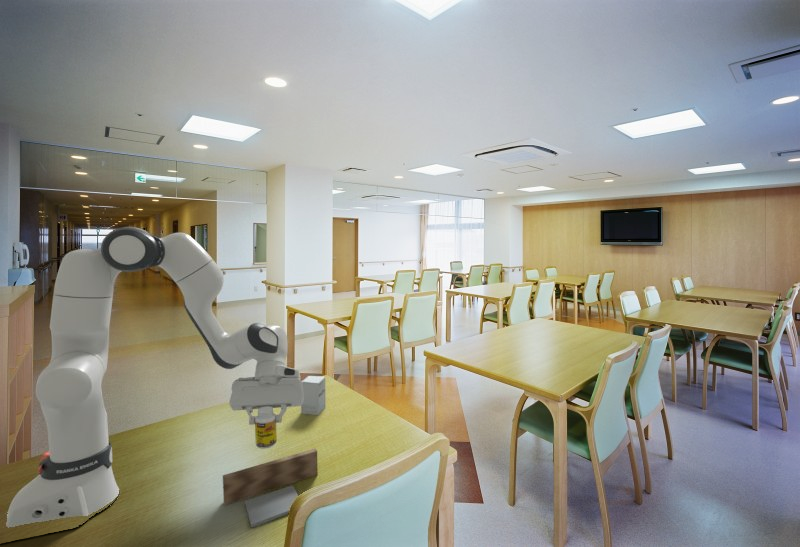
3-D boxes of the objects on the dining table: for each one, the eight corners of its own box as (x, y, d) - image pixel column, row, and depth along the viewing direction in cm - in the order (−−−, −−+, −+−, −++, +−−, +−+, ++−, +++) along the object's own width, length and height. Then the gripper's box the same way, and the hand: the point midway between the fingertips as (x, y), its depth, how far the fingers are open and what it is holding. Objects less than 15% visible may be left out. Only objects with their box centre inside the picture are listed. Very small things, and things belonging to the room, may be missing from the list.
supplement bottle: (254, 451, 101) (253, 414, 100) (257, 440, 106) (256, 405, 106) (275, 448, 102) (274, 412, 101) (277, 438, 108) (276, 404, 107)
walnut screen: (224, 505, 93) (223, 478, 92) (223, 501, 94) (222, 475, 94) (317, 474, 105) (317, 450, 105) (315, 471, 106) (315, 448, 106)
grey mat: (251, 527, 86) (251, 524, 85) (245, 504, 93) (245, 501, 93) (303, 508, 92) (302, 505, 92) (293, 488, 99) (293, 485, 99)
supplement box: (318, 415, 141) (318, 383, 140) (300, 413, 143) (299, 381, 142) (326, 407, 149) (325, 376, 148) (309, 405, 150) (308, 375, 149)
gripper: (231, 373, 108) (222, 421, 99) (304, 369, 112) (302, 416, 103) (235, 382, 112) (227, 429, 103) (305, 379, 116) (303, 424, 107)
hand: (265, 423), depth 103 cm, fingers closed on supplement bottle, 6 cm apart
